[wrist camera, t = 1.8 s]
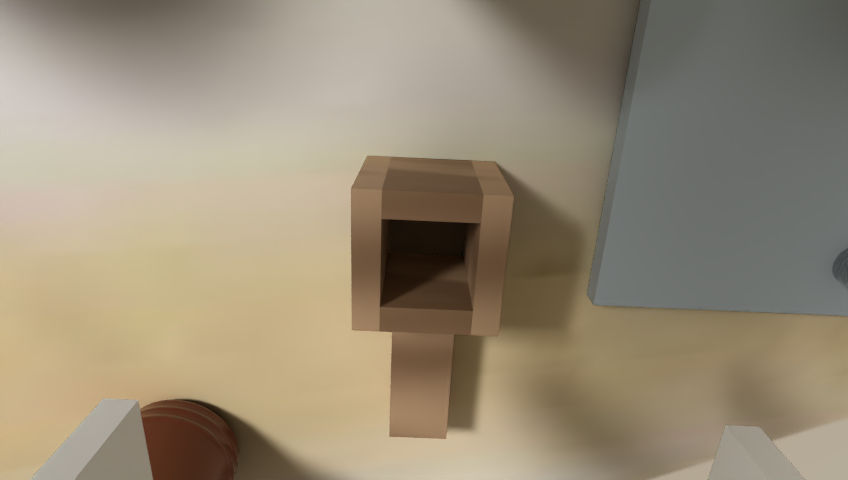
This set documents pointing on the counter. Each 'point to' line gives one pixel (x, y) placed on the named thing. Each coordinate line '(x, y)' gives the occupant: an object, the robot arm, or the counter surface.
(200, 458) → the mug
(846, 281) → the cylinder
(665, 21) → the board
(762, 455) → the robot arm
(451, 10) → the counter surface
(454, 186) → the link
